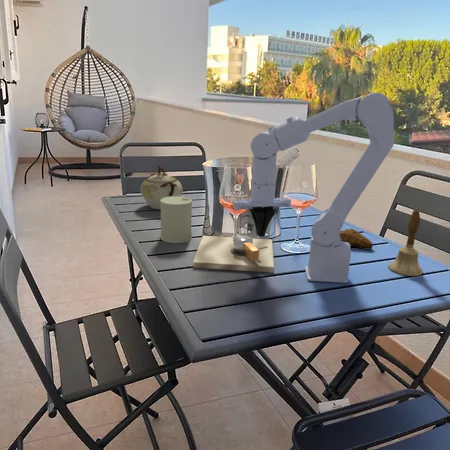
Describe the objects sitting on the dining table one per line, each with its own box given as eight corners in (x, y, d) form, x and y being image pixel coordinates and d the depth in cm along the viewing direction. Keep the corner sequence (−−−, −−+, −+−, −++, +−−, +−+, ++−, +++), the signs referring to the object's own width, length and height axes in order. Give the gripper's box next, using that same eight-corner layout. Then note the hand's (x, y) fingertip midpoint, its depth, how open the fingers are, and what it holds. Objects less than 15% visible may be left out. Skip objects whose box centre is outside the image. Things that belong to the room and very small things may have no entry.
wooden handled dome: (230, 247, 122) (231, 236, 121) (248, 246, 123) (248, 235, 122) (245, 263, 112) (246, 251, 111) (264, 261, 113) (265, 249, 112)
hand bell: (424, 268, 118) (435, 209, 113) (419, 279, 111) (431, 217, 106) (391, 260, 122) (401, 203, 117) (385, 271, 115) (394, 211, 110)
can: (195, 241, 131) (196, 201, 127) (164, 244, 128) (164, 203, 124) (186, 231, 139) (186, 193, 135) (157, 234, 136) (156, 195, 132)
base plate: (271, 244, 131) (271, 238, 130) (273, 272, 112) (273, 266, 111) (202, 240, 132) (202, 234, 131) (193, 267, 113) (193, 261, 112)
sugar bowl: (132, 202, 169) (131, 162, 164) (169, 198, 176) (169, 160, 171) (152, 216, 153) (152, 172, 148) (192, 211, 160) (192, 169, 155)
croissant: (323, 241, 135) (325, 225, 133) (334, 236, 140) (336, 221, 138) (366, 253, 127) (368, 237, 125) (376, 247, 132) (378, 231, 130)
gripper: (283, 178, 115) (280, 228, 119) (229, 180, 111) (228, 232, 115) (296, 184, 109) (292, 237, 113) (239, 186, 104) (237, 242, 109)
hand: (260, 235), depth 114 cm, fingers closed
